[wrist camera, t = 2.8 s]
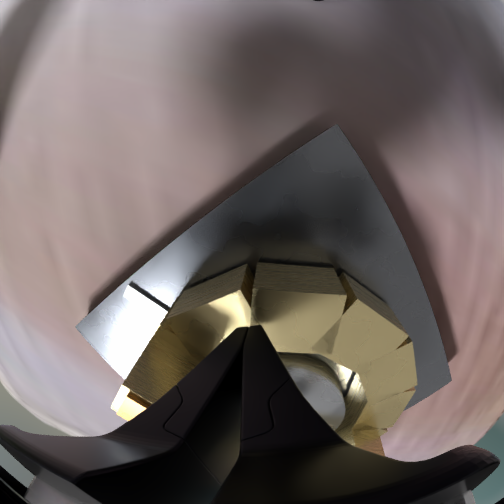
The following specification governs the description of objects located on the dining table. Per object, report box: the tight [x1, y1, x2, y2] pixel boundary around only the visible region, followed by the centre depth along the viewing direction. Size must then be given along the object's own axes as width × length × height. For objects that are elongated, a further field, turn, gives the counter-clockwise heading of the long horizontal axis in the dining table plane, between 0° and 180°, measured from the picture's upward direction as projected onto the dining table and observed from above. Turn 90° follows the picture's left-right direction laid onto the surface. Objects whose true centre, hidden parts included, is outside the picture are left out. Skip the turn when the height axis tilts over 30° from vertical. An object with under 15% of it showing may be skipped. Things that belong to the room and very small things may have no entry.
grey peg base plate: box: [76, 124, 452, 431], centre depth 13 cm, size 18×18×4 cm
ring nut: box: [111, 262, 417, 456], centre depth 11 cm, size 14×14×6 cm
